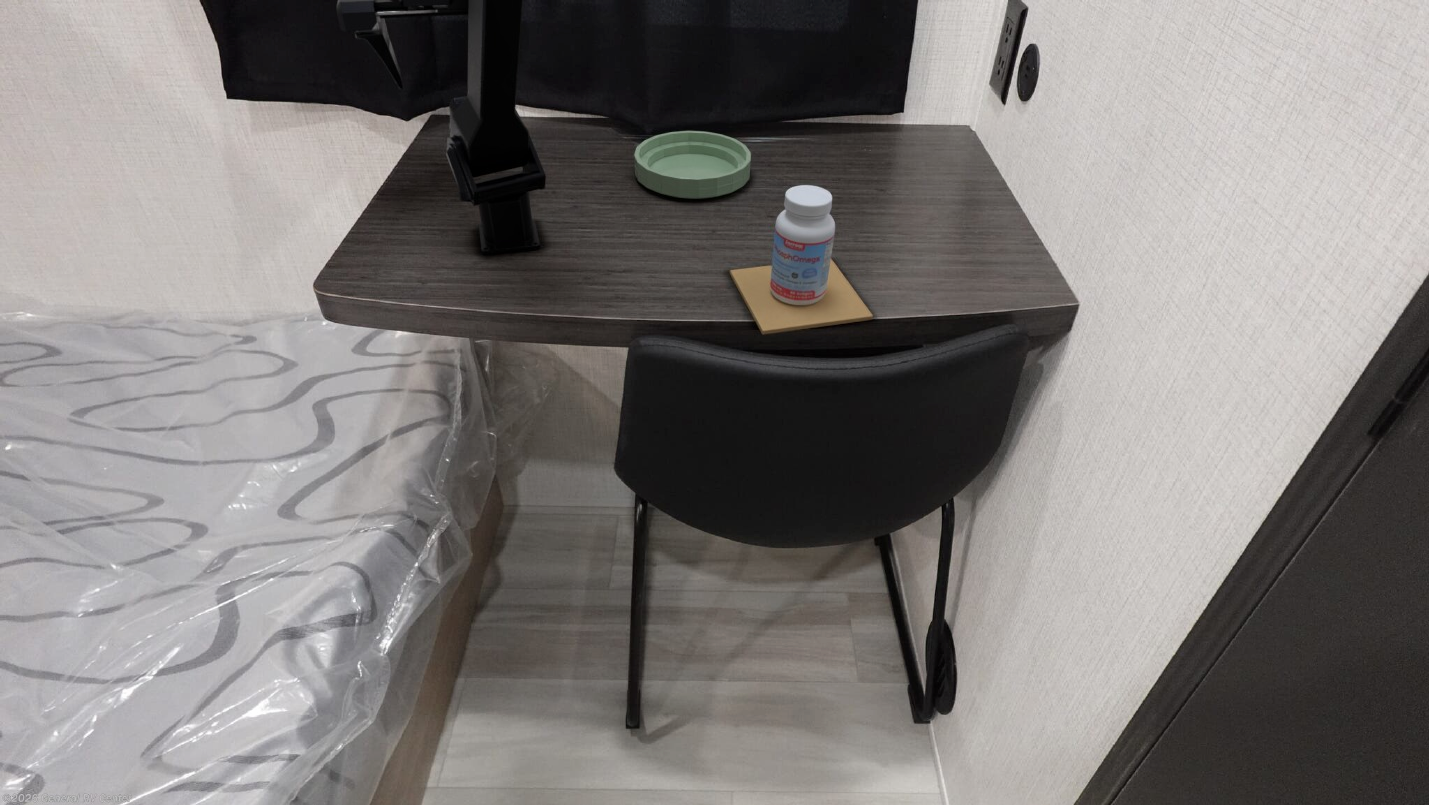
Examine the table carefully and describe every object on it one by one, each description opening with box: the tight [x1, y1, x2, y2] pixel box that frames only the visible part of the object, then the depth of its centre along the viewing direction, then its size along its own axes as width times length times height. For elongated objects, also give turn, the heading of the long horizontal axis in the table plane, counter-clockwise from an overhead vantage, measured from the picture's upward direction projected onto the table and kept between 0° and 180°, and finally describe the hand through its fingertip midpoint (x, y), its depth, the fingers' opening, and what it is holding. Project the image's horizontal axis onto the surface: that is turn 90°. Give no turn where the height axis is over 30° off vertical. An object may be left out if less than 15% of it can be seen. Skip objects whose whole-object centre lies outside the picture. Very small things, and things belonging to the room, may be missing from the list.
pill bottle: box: [770, 184, 836, 305], centre depth 86 cm, size 6×6×11 cm
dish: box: [633, 130, 752, 200], centre depth 111 cm, size 15×15×3 cm
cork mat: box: [729, 258, 874, 335], centre depth 90 cm, size 12×12×1 cm
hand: (442, 85), depth 99 cm, fingers open, 9 cm apart
